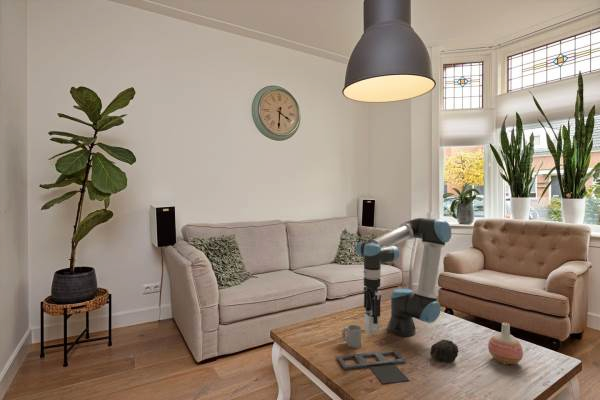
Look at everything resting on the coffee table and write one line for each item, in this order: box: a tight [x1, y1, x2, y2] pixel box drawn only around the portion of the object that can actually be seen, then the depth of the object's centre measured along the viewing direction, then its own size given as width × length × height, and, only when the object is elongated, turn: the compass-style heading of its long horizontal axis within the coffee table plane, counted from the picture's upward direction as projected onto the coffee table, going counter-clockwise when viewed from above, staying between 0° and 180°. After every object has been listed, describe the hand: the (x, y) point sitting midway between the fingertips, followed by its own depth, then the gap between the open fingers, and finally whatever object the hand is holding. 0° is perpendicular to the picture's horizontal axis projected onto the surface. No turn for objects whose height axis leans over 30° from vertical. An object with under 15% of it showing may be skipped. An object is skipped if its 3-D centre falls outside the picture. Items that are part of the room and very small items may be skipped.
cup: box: [341, 324, 362, 349], centre depth 166 cm, size 7×10×9 cm
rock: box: [429, 339, 459, 363], centre depth 152 cm, size 10×11×10 cm
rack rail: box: [336, 349, 407, 371], centre depth 150 cm, size 30×10×1 cm, turn 102°
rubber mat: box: [369, 364, 410, 385], centre depth 139 cm, size 12×12×1 cm
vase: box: [487, 322, 524, 365], centre depth 150 cm, size 14×14×18 cm
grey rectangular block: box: [363, 311, 380, 335], centre depth 150 cm, size 5×5×8 cm
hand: (371, 327), depth 150 cm, fingers closed on grey rectangular block, 5 cm apart
